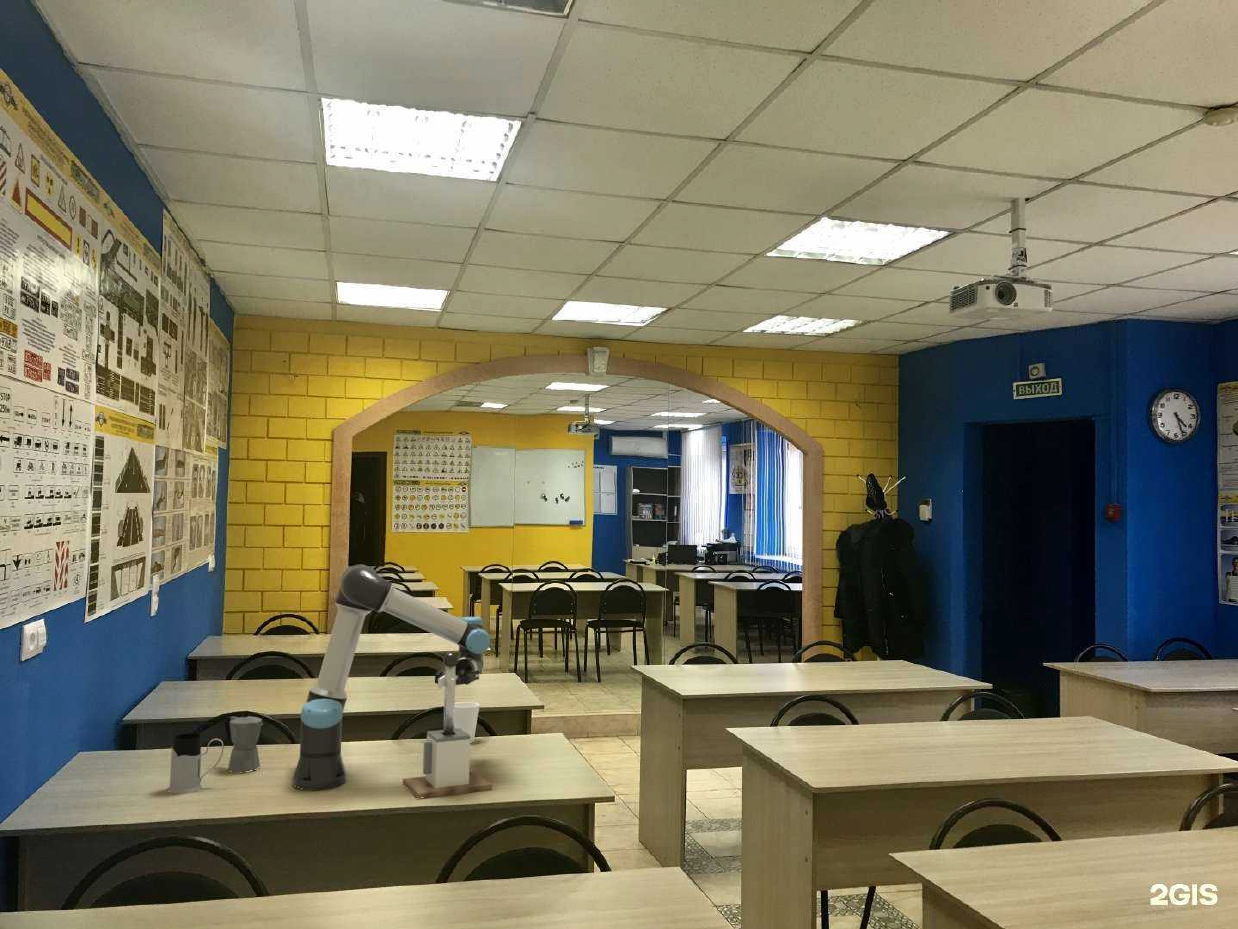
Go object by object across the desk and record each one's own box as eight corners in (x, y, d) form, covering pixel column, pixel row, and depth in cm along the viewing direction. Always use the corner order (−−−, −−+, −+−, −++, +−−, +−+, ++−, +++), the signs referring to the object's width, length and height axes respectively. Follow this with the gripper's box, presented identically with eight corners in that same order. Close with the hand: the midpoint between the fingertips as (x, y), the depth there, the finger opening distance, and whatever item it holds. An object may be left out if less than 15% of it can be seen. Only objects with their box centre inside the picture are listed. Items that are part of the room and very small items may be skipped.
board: (417, 799, 259) (417, 793, 259) (402, 784, 273) (402, 779, 274) (491, 789, 270) (491, 784, 270) (473, 775, 284) (473, 770, 284)
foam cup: (481, 739, 329) (482, 702, 330) (474, 745, 320) (475, 708, 321) (455, 738, 330) (456, 701, 331) (447, 744, 321) (449, 706, 322)
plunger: (440, 745, 268) (443, 654, 269) (433, 740, 274) (435, 651, 275) (463, 743, 271) (466, 653, 272) (455, 738, 277) (458, 650, 278)
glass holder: (169, 786, 267) (171, 733, 268) (222, 782, 272) (224, 730, 273) (166, 795, 259) (168, 740, 259) (221, 790, 264) (223, 737, 264)
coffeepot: (271, 768, 287) (273, 710, 288) (248, 776, 279) (251, 715, 280) (234, 762, 293) (236, 705, 294) (210, 769, 285) (213, 710, 286)
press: (428, 789, 264) (429, 739, 265) (418, 780, 273) (419, 732, 273) (468, 784, 270) (470, 735, 270) (458, 775, 278) (459, 728, 279)
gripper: (488, 683, 291) (472, 698, 267) (437, 681, 291) (418, 696, 268) (488, 659, 291) (473, 671, 268) (438, 658, 292) (418, 670, 268)
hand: (445, 684), depth 268 cm, fingers closed on plunger, 3 cm apart
